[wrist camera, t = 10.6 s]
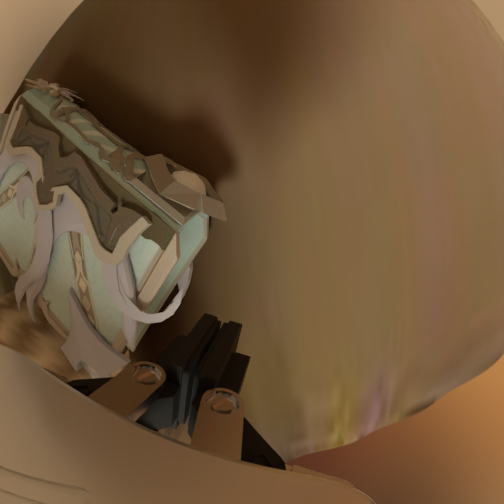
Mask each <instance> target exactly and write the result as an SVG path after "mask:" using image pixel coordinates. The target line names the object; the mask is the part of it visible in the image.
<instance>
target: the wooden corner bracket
mask: <svg viewBox="0 0 504 504" xmlns="http://www.w3.org/2000/svg"><path fill="white" fill-rule="evenodd" d="M9 115H10V114H0V143H1V140H2V136H3V133H4V130H5V127H6V124H7V121H8V118H9ZM17 281H18V278H17V277H15V276H12V275H11V273H10V272H9V270H8V268H7V267H6V265H5V263H4V262H3V260H2V258H1V257H0V344H1V345H4V346H7V347H10V348H12V349H14V350H16V351H18V352H19V353H21V354H23V355H24V356H26V357H28V358H29V359H30V360H32V361H33V362H35V363H36V364H38V365H39V366H41V367H43V368H45V369H47V370H49V371H52V372H54V373H57V374H59V375H61V376H64V377H66V378H68V381H72V380H77V379H93V378H92V377H91V375H90V374H89V373H88V372H87V371H86V370H85V368H84V367H82V368H81V369H79V370H78V371H75V369H74V368H73V367H72V365H71V364H70V362H69V360H68V359H67V357H66V356H65V354H64V353H63V351H62V350H61V347H62V345H63V344H64V343H65V342H66V339H65V338H63V337H62V336H61V335H60V334H59V333H58V332H57V331H56V330H55V329H54V328H53V326H52V325H51V324H50V323H49V322H48V321H47V319H46V317H45V315H44V313H43V311H42V309H41V308H40V306H39V305H38V304H37V303H36V302H34V314H35V320H36V322H35V323H34V321H33V319H32V317H31V315H30V313H29V310H28V307H27V297H26V291H25V293H24V295H23V297H22V300H21V302H20V306H21V311H19V308H18V305H17V301H16V296H15V286H16V282H17ZM121 354H123V355H124V356H126V357H127V358H128V359H130V356H129V349H128V348H126V347H125V348H124V350H123V352H122V353H121ZM127 364H128V363H127ZM127 364H126V365H127ZM126 365H124V366H123V367H121V368H119V369H118V370H116V371H114V372H113V373H112V377H115V376H116V375H117V374H118V373H119V372H120V371H121V370H122V369H123V368H124V367H125V366H126Z"/></svg>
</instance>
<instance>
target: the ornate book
mask: <svg viewBox="0 0 504 504" xmlns="http://www.w3.org/2000/svg"><path fill="white" fill-rule="evenodd" d="M24 79H25V80H26V81H28V82H31V83H33V84H36V85H39V86H35V85H28V84H25V85H28V86H30V87H33V89H30V90H28V91H26V92H25V93H23V94H22V95H20V96H19V97H18V99H17V100H16V101H15V103H14V105H13V107H12V110H11V113H10V115H9V118H8V121H7V124H6V127H5V130H4V133H3V136H2V140H1V143H0V257H1V258H2V260H3V262H4V263H5V265H6V267H7V268H8V270H9V272H10V273H11V275H12V276H15V277H17V278H18V281H17V282H16V286H15V296H16V301H17V305H18V308H19V311H21V306H20V302H21V300H22V297H23V295H24V293H25V291H26V297H27V307H28V310H29V313H30V315H31V317H32V319H33V321H34V323H35V322H36V320H35V314H34V302H36V303H37V304H38V305H39V306H40V308H41V309H42V311H43V313H44V315H45V317H46V319H47V321H48V322H49V323H50V324H51V325H52V326H53V328H54V329H55V330H56V331H57V332H58V333H59V334H60V335H61V336H62V337H63V338H65V339H66V342H65V343H64V344H63V345H62V347H61V350H62V351H63V353H64V354H65V356H66V357H67V359H68V360H69V362H70V364H71V365H72V367H73V368H74V369H75V371H78V370H79V369H81V368H82V367H84V368H85V370H86V371H87V372H88V373H89V374H90V375H91V377H92V378H93V379H94V378H107V377H112V373H113V372H114V371H116V370H118V369H119V368H121V367H123V366H124V365H126V364H127V363H129V362H130V361H131V360H130V359H128V358H127V357H126V356H124V355H123V354H121V353H122V352H123V350H124V348H125V346H127V347H128V348H129V349H130V350H131V351H132V352H133V351H134V350H135V348H136V346H137V344H138V343H139V341H140V340H141V338H142V336H143V335H144V333H145V332H146V330H147V329H148V327H149V325H150V324H151V323H157V322H162V321H164V320H165V319H167V318H169V317H170V316H172V315H173V314H174V312H175V311H176V309H177V308H178V306H179V305H180V303H181V299H182V298H183V297H184V295H185V293H186V291H187V289H188V287H189V284H190V281H191V276H192V271H193V259H194V258H195V256H196V255H197V253H198V252H199V251H200V249H201V248H202V246H203V245H204V243H205V242H206V241H207V239H208V234H209V216H212V217H214V218H217V219H220V220H223V221H225V222H227V218H226V213H225V208H224V203H223V201H222V200H221V199H220V197H219V196H218V194H217V193H216V192H215V190H214V189H213V187H212V186H211V184H210V183H209V181H208V180H207V178H205V177H203V176H201V175H199V174H197V173H195V172H193V171H191V170H189V169H187V168H185V167H183V166H181V165H179V164H177V163H175V162H173V161H172V160H170V159H169V158H167V157H166V156H164V155H163V154H157V155H152V156H147V157H145V156H144V155H143V154H141V153H140V152H139V151H138V150H136V149H135V148H133V147H132V146H131V145H129V144H127V143H126V142H125V141H123V140H122V139H121V138H119V137H118V136H117V135H115V134H114V133H112V132H111V131H110V130H108V129H107V128H106V127H104V126H103V125H102V124H101V123H100V122H99V121H98V120H97V119H96V118H95V116H94V115H93V114H92V113H90V112H89V111H87V110H86V109H85V108H84V109H81V108H80V107H79V106H78V105H76V104H75V103H73V101H74V99H73V98H71V97H70V96H74V97H77V98H79V99H81V98H80V97H78V96H76V95H75V94H73V93H71V92H74V91H72V90H70V89H67V88H59V87H58V86H59V85H60V84H57V83H50V85H49V84H48V82H47V81H45V80H42V79H37V80H38V81H34V80H29V79H27V78H24ZM69 91H70V92H69ZM74 93H76V92H74ZM77 94H78V93H77ZM69 95H70V96H69ZM63 96H65V97H67V98H69V99H70V100H68V99H67V98H65V97H63ZM81 100H82V99H81ZM82 101H84V100H82ZM84 102H85V101H84ZM176 284H178V287H179V293H178V294H177V295H176V297H175V298H174V299H173V300H172V302H171V303H170V304H169V306H168V307H167V308H166V309H165V311H164V312H161V313H158V311H159V310H160V308H161V307H162V305H163V304H164V302H165V301H166V299H167V298H168V296H169V295H170V293H171V292H172V290H173V289H174V287H175V286H176Z"/></svg>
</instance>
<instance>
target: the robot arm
mask: <svg viewBox="0 0 504 504" xmlns="http://www.w3.org/2000/svg"><path fill="white" fill-rule="evenodd" d="M220 326H221V321H218V320H217V317H216V316H213V315H209V314H206V313H205V314H204V315H203V316H202V318H201V319H200V320H199V322H198V323H197V324H196V325H195V327H194V328H193V329H192V331H191V332H190V333H189V334H188V336H187V337H186V336H183V335H178V336H177V337H176V338H175V339H174V340H173V342H172V343H171V344H170V345H169V346H168V348H167V349H166V350H165V351H164V352H163V353H162V355H161V356H160V357H159V358H158V359H157V361H156V362H155V363H152V362H147V361H140V362H136V363H133V364H131V365H130V366H129V367H127V368H126V369H124V370H123V371H122V372H120V373H119V374H118V375H116V376H115V377H107V378H94V379H77V380H72V381H68V378H66V377H64V376H61V375H59V374H57V373H54V372H52V371H49V370H47V369H45V368H43V367H41V366H39V365H38V364H36V363H35V362H33V361H32V360H30V359H29V358H28V357H26V356H24V355H23V354H21V353H19V352H18V351H16V350H14V349H12V348H10V347H7V346H4V345H1V344H0V504H375V503H374V501H373V500H372V499H371V498H370V497H369V496H367V495H366V494H364V493H362V492H361V491H359V490H357V489H355V488H354V486H353V485H352V484H351V483H350V482H348V481H346V480H344V479H340V478H337V477H333V476H329V475H325V474H322V473H319V472H315V471H312V470H309V469H306V468H303V467H300V466H297V465H294V466H293V467H292V466H289V465H286V464H285V463H284V461H283V460H282V458H281V457H280V456H279V455H278V454H277V453H276V452H275V451H274V450H273V449H272V448H271V446H270V445H269V444H268V443H267V442H266V441H265V440H264V439H263V438H262V437H261V436H260V434H259V433H258V432H257V431H256V430H255V429H254V428H253V427H252V425H251V424H250V423H249V422H248V421H247V420H246V419H245V417H244V401H243V400H242V398H241V397H240V396H239V394H240V391H241V388H242V385H243V381H244V378H245V375H246V371H247V368H248V364H249V361H250V356H247V355H243V354H240V353H236V349H237V345H238V340H239V336H240V332H241V328H242V324H240V323H236V322H233V321H229V323H225V322H224V324H223V325H222V327H221V329H220Z"/></svg>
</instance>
